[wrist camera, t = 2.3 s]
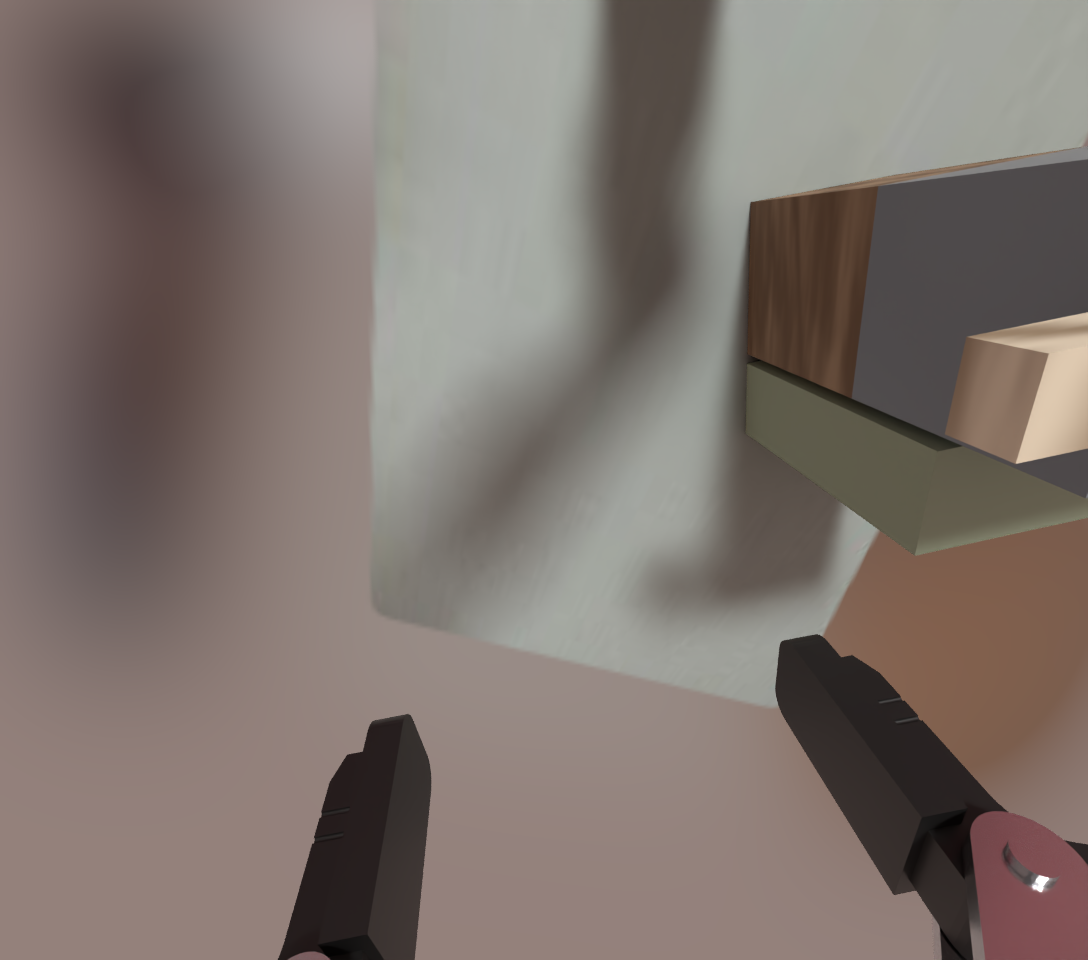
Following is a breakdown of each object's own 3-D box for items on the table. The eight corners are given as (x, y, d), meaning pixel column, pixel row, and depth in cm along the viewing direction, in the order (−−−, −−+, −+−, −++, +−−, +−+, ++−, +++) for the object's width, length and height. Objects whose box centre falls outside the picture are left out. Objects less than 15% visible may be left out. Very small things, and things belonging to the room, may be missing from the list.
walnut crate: (747, 354, 51) (851, 398, 37) (750, 202, 45) (878, 185, 31) (875, 328, 52) (1026, 362, 38) (896, 174, 46) (1087, 146, 31)
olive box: (745, 433, 56) (914, 555, 34) (747, 363, 52) (937, 451, 31) (863, 408, 56) (1103, 514, 35) (873, 338, 52) (1148, 406, 31)
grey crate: (851, 398, 37) (1085, 498, 23) (878, 185, 31) (1224, 141, 17) (1026, 362, 38) (1360, 438, 23) (1087, 146, 31) (1597, 69, 17)
